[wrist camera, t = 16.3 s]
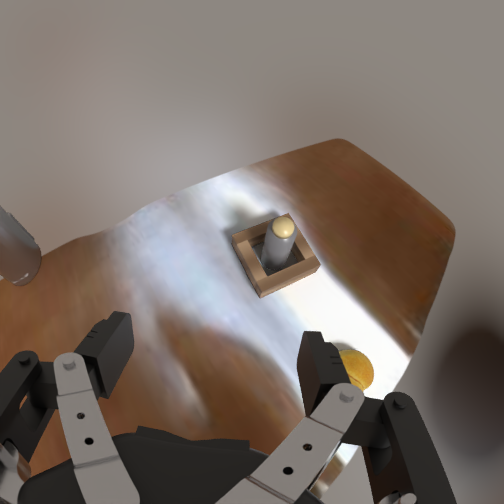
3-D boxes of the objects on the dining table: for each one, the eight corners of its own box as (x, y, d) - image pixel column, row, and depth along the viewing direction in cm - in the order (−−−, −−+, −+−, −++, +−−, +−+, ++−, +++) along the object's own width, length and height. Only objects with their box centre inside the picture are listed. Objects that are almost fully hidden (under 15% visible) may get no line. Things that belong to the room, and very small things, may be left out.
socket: (231, 244, 47) (231, 234, 45) (285, 223, 50) (288, 213, 47) (259, 298, 44) (261, 291, 41) (315, 272, 46) (320, 264, 44)
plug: (256, 253, 47) (262, 219, 38) (278, 244, 48) (289, 209, 39) (268, 274, 46) (277, 243, 37) (290, 264, 47) (304, 232, 38)
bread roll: (376, 368, 40) (389, 365, 36) (345, 416, 36) (356, 418, 33) (337, 339, 42) (346, 334, 38) (303, 387, 38) (310, 387, 35)
